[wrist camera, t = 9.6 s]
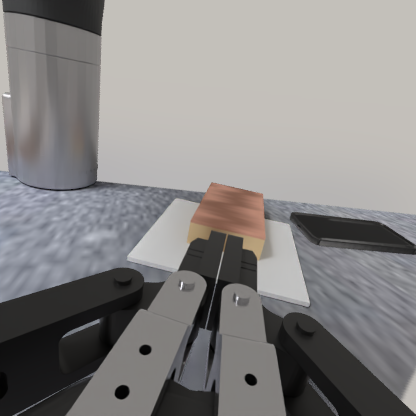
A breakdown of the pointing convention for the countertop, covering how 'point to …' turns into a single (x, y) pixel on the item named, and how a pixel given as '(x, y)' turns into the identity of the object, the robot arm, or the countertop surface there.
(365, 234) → the phone
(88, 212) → the countertop surface
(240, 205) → the brown flat rectangular block
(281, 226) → the white square pad
